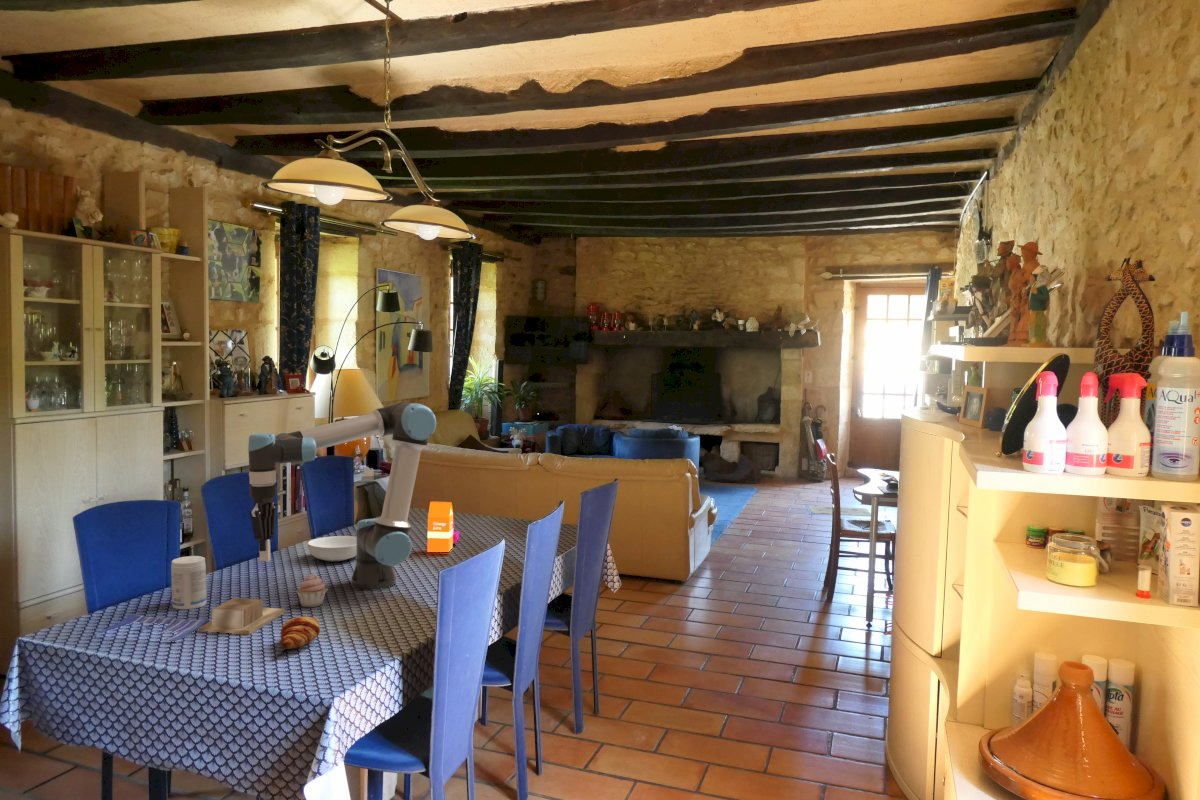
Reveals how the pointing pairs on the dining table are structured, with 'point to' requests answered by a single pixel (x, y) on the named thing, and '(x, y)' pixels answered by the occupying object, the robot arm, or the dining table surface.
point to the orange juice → (440, 527)
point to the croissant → (299, 632)
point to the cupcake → (312, 591)
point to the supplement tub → (188, 582)
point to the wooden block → (237, 613)
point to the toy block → (455, 534)
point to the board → (267, 617)
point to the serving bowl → (333, 548)
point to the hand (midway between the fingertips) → (265, 560)
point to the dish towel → (173, 624)
